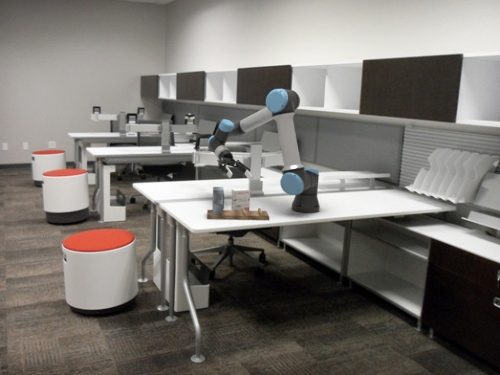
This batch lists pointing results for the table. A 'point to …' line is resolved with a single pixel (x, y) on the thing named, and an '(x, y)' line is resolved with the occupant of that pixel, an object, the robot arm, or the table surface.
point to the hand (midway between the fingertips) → (241, 177)
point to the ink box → (240, 199)
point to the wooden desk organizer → (242, 214)
